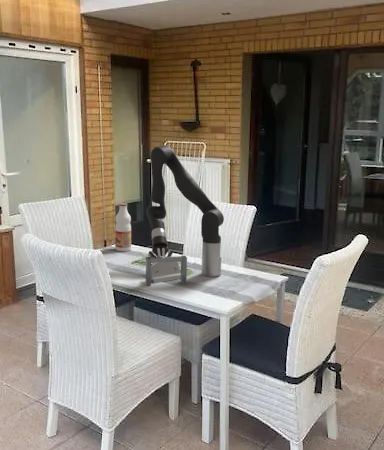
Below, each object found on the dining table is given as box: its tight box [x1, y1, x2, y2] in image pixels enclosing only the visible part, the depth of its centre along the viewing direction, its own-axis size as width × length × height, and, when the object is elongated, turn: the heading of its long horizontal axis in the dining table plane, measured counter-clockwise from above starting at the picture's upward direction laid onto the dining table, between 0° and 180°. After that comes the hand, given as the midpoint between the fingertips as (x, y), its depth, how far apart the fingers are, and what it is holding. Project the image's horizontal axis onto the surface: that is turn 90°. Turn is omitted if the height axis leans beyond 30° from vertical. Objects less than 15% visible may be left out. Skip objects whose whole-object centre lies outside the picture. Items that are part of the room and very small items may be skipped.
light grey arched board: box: [151, 262, 181, 284], centre depth 243 cm, size 17×5×10 cm, turn 123°
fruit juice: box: [114, 202, 132, 252], centre depth 294 cm, size 9×9×28 cm
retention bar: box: [145, 255, 188, 287], centre depth 234 cm, size 19×4×13 cm, turn 102°
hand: (162, 268), depth 246 cm, fingers closed
